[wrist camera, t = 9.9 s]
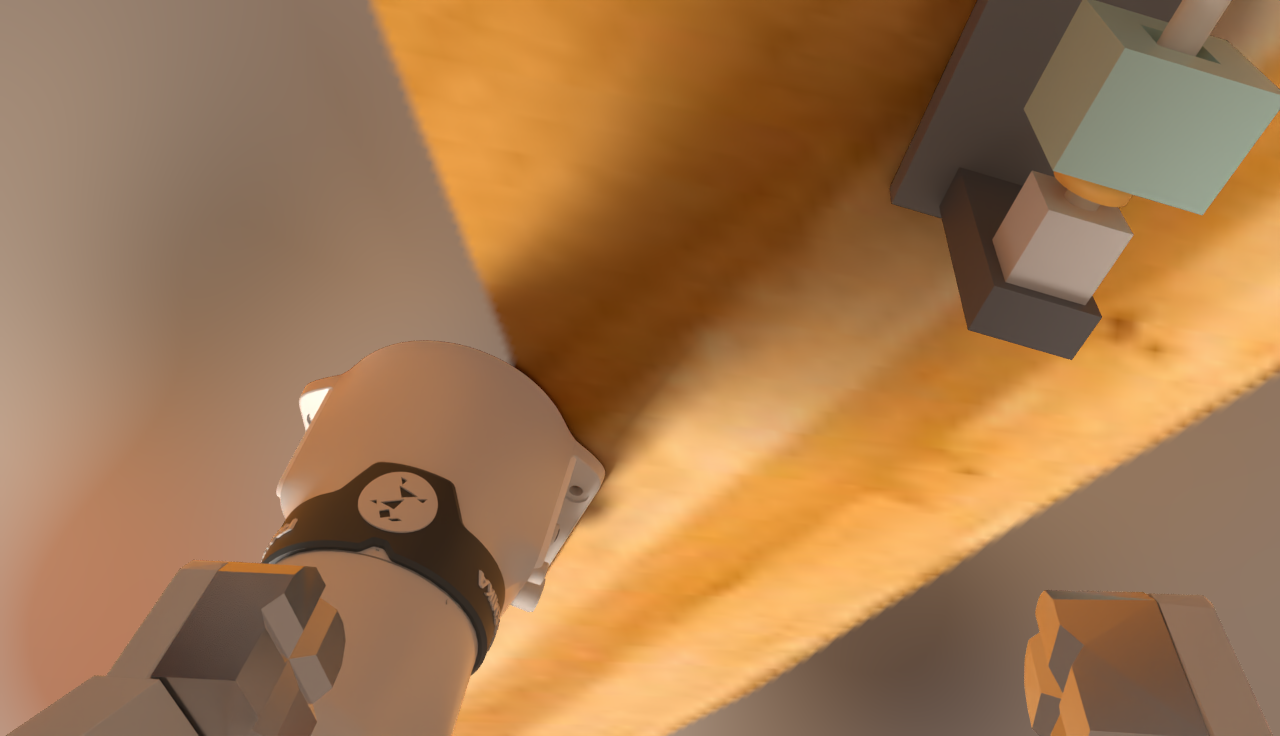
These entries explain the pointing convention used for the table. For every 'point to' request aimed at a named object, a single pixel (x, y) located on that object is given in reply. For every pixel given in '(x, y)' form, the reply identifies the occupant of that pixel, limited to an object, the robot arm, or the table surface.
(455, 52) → the table surface
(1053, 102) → the sleeve
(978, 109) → the sliding block rail stand
